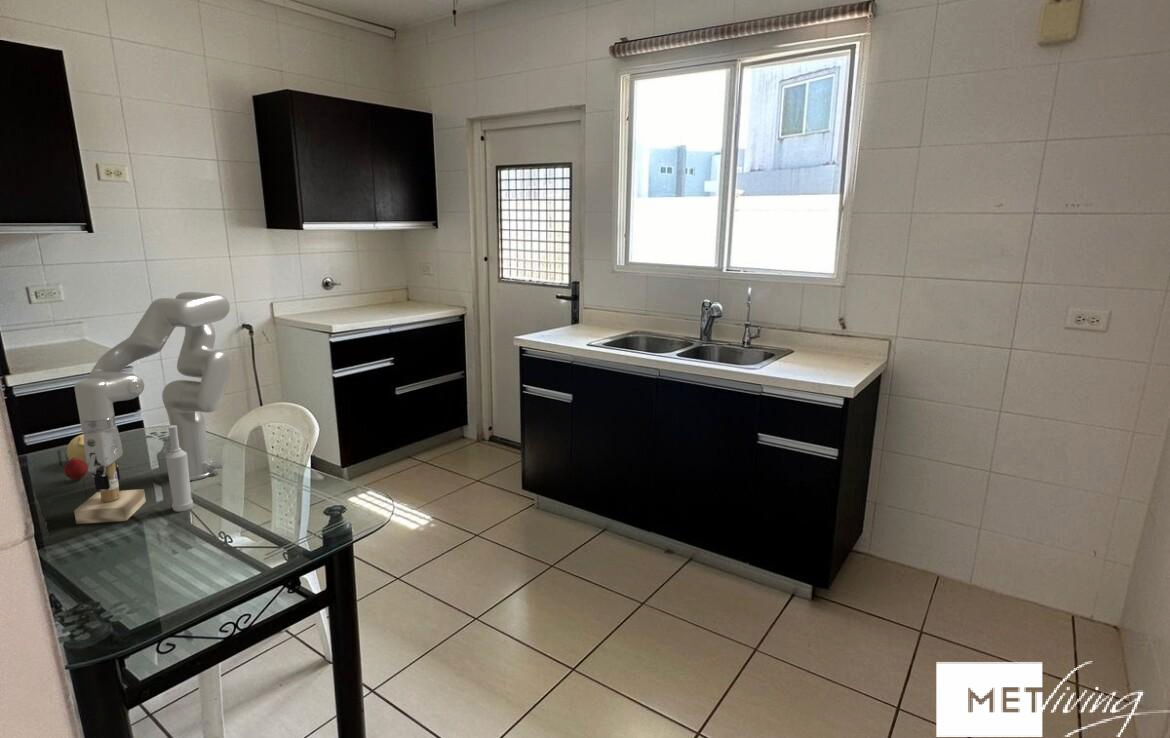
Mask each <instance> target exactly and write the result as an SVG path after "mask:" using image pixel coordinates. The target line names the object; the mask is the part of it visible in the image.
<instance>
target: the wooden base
mask: <svg viewBox="0 0 1170 738" xmlns="http://www.w3.org/2000/svg"><path fill="white" fill-rule="evenodd" d="M119 493H120V498H119V499H117V500H114V501H110V502H103V501H101V493H100V491H96V492H95V493H94V494H92V496H90V497H89V498H88V499H87V500H85V501H84V502H83V503H82V504H80V505H79V506H78V507H77V508H76V509H74V511H73V513H74V517H75V524H76V525H81V524H96V523H97V524H98V523H115V522H125V521H128V520H129V519H130V518H131V517H132V516H133V515H134V514H135V513H136V512H137V511H138V510H139V509H140V508H141V507H142V506H143V505H144V504H145V503H146V502H147V501H146V493H145V489H143V488H142V489H125V490H119Z"/></svg>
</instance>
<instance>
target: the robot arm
mask: <svg viewBox="0 0 1170 738" xmlns="http://www.w3.org/2000/svg"><path fill="white" fill-rule="evenodd" d="M229 312H230V302H229V300H228V299H227V298H226V297H225V296H224V295H222V294H220V293H214V292H213V293H212V292H211V293H209V292H197V291H185V292H181V293H179V294H177V295H176V297H175V298H173V297H171V298H169V297H167V298H166V297H163V298H162V297H161V298H157V299H155V300H153V301H152V302H151V303H150V304H149V306H148V307H147V309H146V311H144V314H143V315H142V317H141V319H140V320H139V322H138V323H137V325H136V326H135V328H134V329H133V331H132V333H131V334H129V336H128V337H127V338H126V339H124V340H123V341H121V342H120V343H118V344H116V345H114V347H112V348H111V349H108V351H107V352H105V353H104V354H102V356H101V357H100V358H98V361H97V362H96V363H95V365H94V366H93V368H92V370H91V371H90V372H89V374H88V377H87V378H86V379H82V380H79V381H77V382H76V383H75V384H74V393H75V399H76V405H77V410H78V411H77V412H78V416H79V417H78V418H79V423H80V427H81V433H83V434H84V450H85V458H86V462H87V465H88V471H87V473H90V474H91V475H92V478H93V480H94V481H93V482H94V486H95V489H96V491H100V490H104V489H109V488H110V484H109V478H108V475H106V466H109V465H110V464H112V463H113V462H114V461H115V466H116V472H117V477H118V482H119V481H120V480H121V476H120V469H119V466H120V464H119V459H120V458H121V457H122V456H123V454H124V452H123V451H124V450H123V446H122V441H121V436H120V433H119V429H118V426H117V422H116V416H115V409H114V403H115V402H122V401H130V400H134V399H135V398H137V397H139V396H140V395H141V394H142V393H143V391H144V389H145V383H144V380H143V378H141V377H140V376H139V375H136V374H134V373H129V372H122V371H123V370H125V368H127V367H128V366H129V365H130V364H132V363H135V362H136V361H139V360H142V359H144V358H147V357H150V356H154V355H155V354H157V353H160V352H161V351H162V350H163V348H164V346H165V345H166V343H167V341H168V340H169V338H170V336H171V335H172V333H173V332H174V330H175V328H184V331H185V332H184V337H183V340H182V344H181V348H180V351H179V354H178V355H179V356H178V358H177V362H176V368H177V369H176V370H177V372H178V373H179V374H181V375H183V376H185V377H190V378H198V379H201V380H200V381H196V380H185V379H180V380H179V379H178V380H173V381H170V382H169V383H167V384H166V385H165V387H163V390H162V393H161V399H162V402H163V405H164V407H165V411H166V413H167V416H168V421H169V426H172V425H176V426H177V431H178V440H179V447H180V448H181V450H183V451H185V452H186V453H187V459H188V469H189V479H190V482H191V481H196V480H200V479H201V480H202V479H204V478H205V479H206V478H207V477H210V476H212V475H213V474H215V473H216V472H217V471H216V470H217V469H218V470H219V469H224V465H225V464H224V462H223V461H222V460H213V457H212V456H209V446H208V438H207V431H206V430H207V428H206V422H205V418H204V415H203V413H212V412H215V411H217V410H218V408H219V407H221V405H222V403H223V399H224V397H225V394H226V390H227V386H228V384H229V383H228V382H229V380H230V379H229V378H230V374H231V371H232V370H231V369H232V362H231V359H230V356H229V355H228V354H227V353H226V352H225V351H223V350H220V349H214V346H215V341H216V330H215V328H214V325H213V323H215V322H218V321H221V320H223V319H224V318H226V317H227V316H228V315H229ZM97 463H100V465H96V464H97ZM100 467H102V471H101V470H99V469H97V468H100Z"/></svg>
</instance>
